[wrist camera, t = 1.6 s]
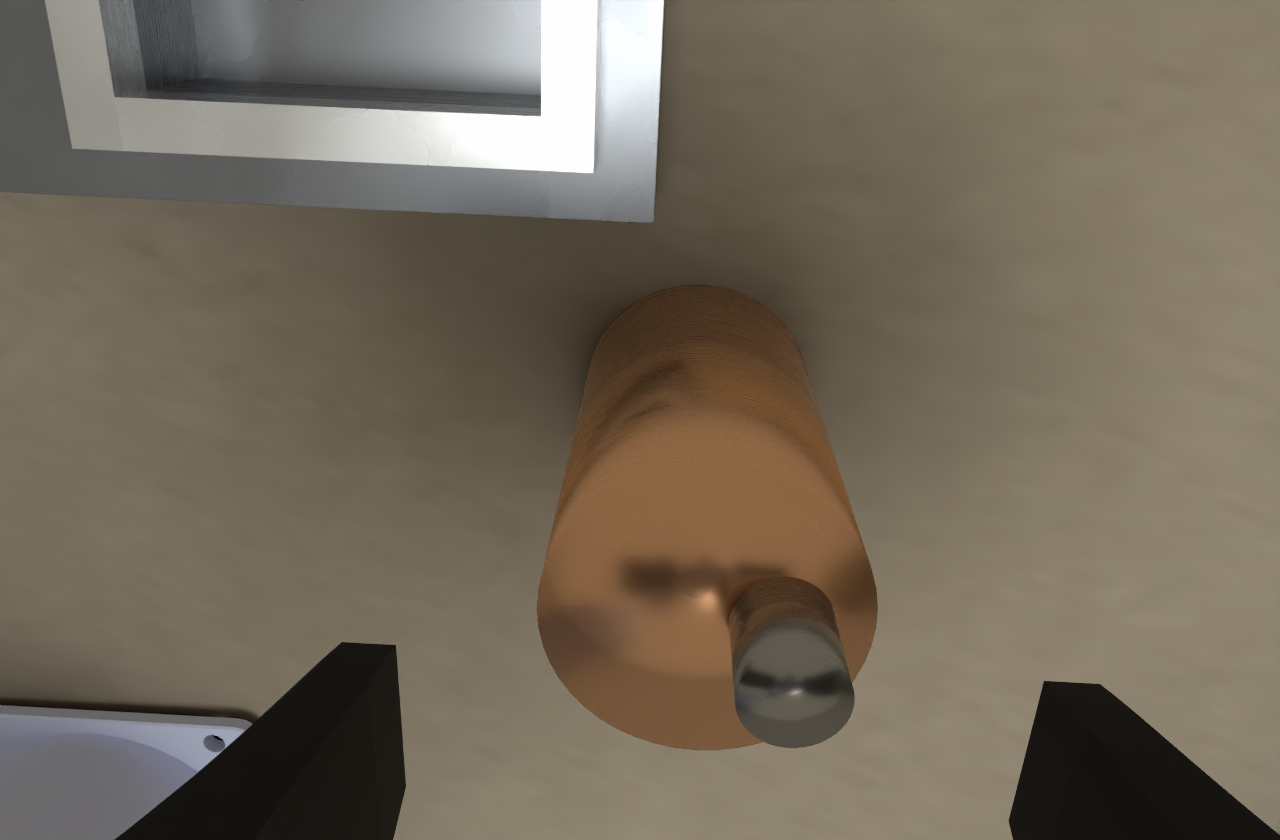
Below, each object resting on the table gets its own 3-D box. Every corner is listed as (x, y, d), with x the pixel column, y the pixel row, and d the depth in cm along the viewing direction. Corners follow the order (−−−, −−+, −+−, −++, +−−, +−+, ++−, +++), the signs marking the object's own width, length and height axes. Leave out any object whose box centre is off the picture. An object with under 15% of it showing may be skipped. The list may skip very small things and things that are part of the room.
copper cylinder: (584, 482, 21) (520, 828, 13) (588, 279, 20) (517, 519, 11) (794, 493, 21) (875, 849, 13) (817, 290, 20) (931, 541, 11)
